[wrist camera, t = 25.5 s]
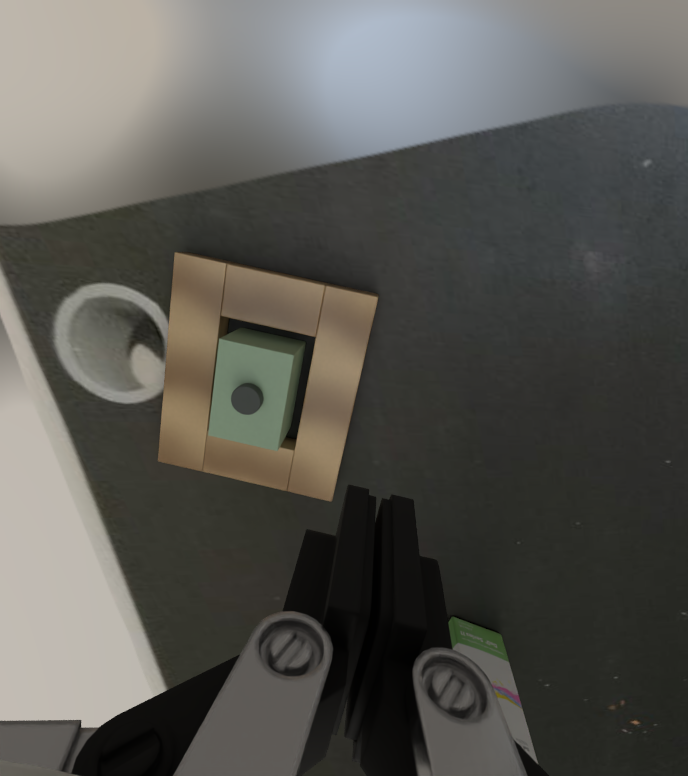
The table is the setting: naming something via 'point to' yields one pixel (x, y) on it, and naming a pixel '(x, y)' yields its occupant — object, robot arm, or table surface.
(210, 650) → the table surface
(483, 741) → the robot arm
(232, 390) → the green knobbed block
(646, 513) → the table surface
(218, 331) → the wooden frame
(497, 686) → the ink box
